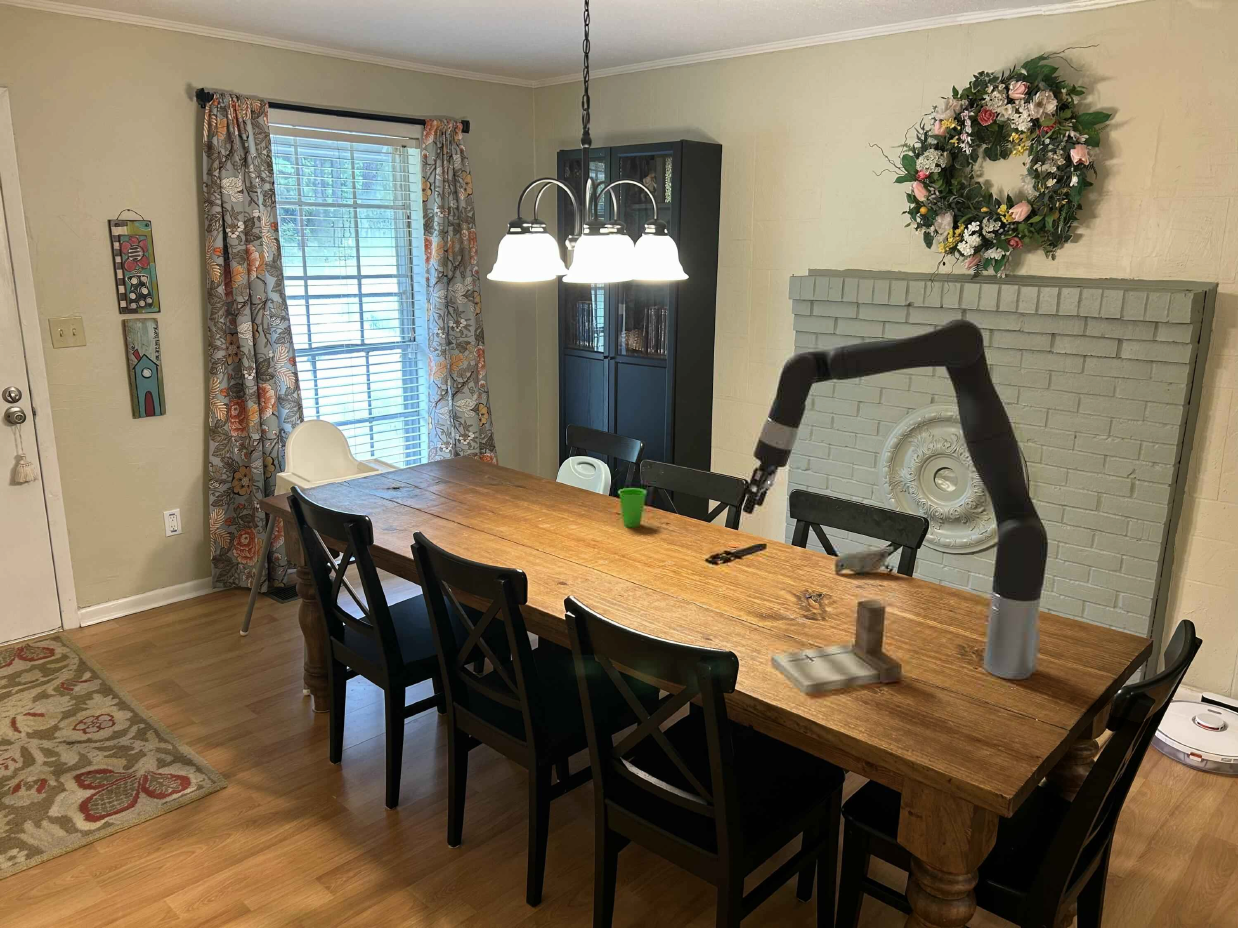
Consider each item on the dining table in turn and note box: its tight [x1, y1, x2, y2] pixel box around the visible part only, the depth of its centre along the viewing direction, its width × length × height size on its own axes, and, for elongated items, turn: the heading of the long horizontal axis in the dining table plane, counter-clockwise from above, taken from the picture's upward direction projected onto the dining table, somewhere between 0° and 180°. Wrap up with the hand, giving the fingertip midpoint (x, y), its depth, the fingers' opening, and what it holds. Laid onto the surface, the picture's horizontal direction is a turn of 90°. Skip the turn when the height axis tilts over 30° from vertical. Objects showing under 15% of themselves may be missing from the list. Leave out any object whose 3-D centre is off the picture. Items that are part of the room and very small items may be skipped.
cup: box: [617, 487, 648, 528], centre depth 287 cm, size 9×9×11 cm
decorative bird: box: [834, 546, 895, 575], centre depth 247 cm, size 5×16×8 cm, turn 95°
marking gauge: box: [851, 598, 903, 684], centre depth 189 cm, size 4×12×13 cm, turn 19°
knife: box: [704, 543, 767, 566], centre depth 262 cm, size 25×6×1 cm, turn 127°
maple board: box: [770, 642, 882, 695], centre depth 190 cm, size 22×14×2 cm, turn 109°
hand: (752, 508), depth 203 cm, fingers open, 8 cm apart
